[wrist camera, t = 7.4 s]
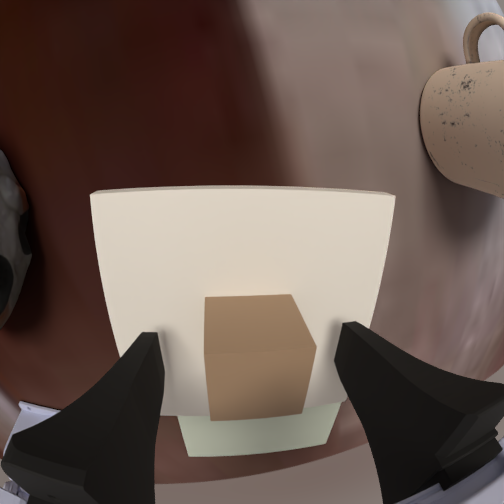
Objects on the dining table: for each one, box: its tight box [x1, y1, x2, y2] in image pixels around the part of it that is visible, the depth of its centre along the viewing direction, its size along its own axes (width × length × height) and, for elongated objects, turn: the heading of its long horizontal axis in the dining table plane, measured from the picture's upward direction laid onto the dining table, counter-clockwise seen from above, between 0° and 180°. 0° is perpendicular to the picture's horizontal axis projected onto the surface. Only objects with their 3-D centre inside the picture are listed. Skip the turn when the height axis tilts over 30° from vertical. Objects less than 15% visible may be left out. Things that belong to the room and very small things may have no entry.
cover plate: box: [90, 186, 395, 421], centre depth 11 cm, size 12×12×4 cm
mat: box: [178, 402, 341, 456], centre depth 22 cm, size 14×14×1 cm
